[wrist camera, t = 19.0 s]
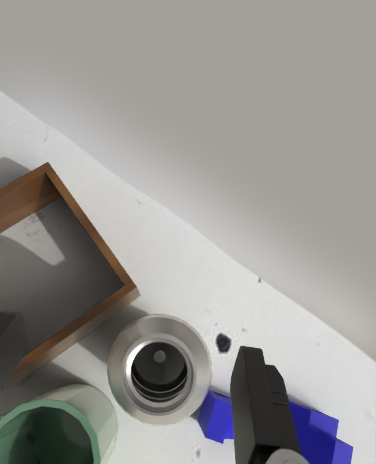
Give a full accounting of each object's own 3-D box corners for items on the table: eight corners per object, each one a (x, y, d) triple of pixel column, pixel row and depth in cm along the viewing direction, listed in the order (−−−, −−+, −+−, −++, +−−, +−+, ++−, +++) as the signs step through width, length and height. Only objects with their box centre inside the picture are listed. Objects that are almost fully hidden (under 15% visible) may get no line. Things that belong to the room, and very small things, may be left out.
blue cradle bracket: (324, 413, 35) (356, 427, 29) (315, 463, 33) (347, 487, 28) (211, 374, 35) (220, 380, 29) (198, 421, 34) (205, 437, 28)
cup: (13, 422, 33) (-49, 454, 23) (88, 365, 35) (59, 374, 25) (58, 502, 31) (12, 573, 22) (134, 438, 33) (123, 477, 23)
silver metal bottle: (156, 310, 37) (150, 276, 18) (205, 353, 36) (254, 366, 17) (113, 360, 35) (56, 380, 16) (164, 407, 34) (166, 489, 15)
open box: (-57, 259, 37) (-97, 244, 31) (64, 187, 40) (47, 161, 35) (16, 385, 34) (-13, 394, 28) (140, 295, 37) (136, 287, 31)
